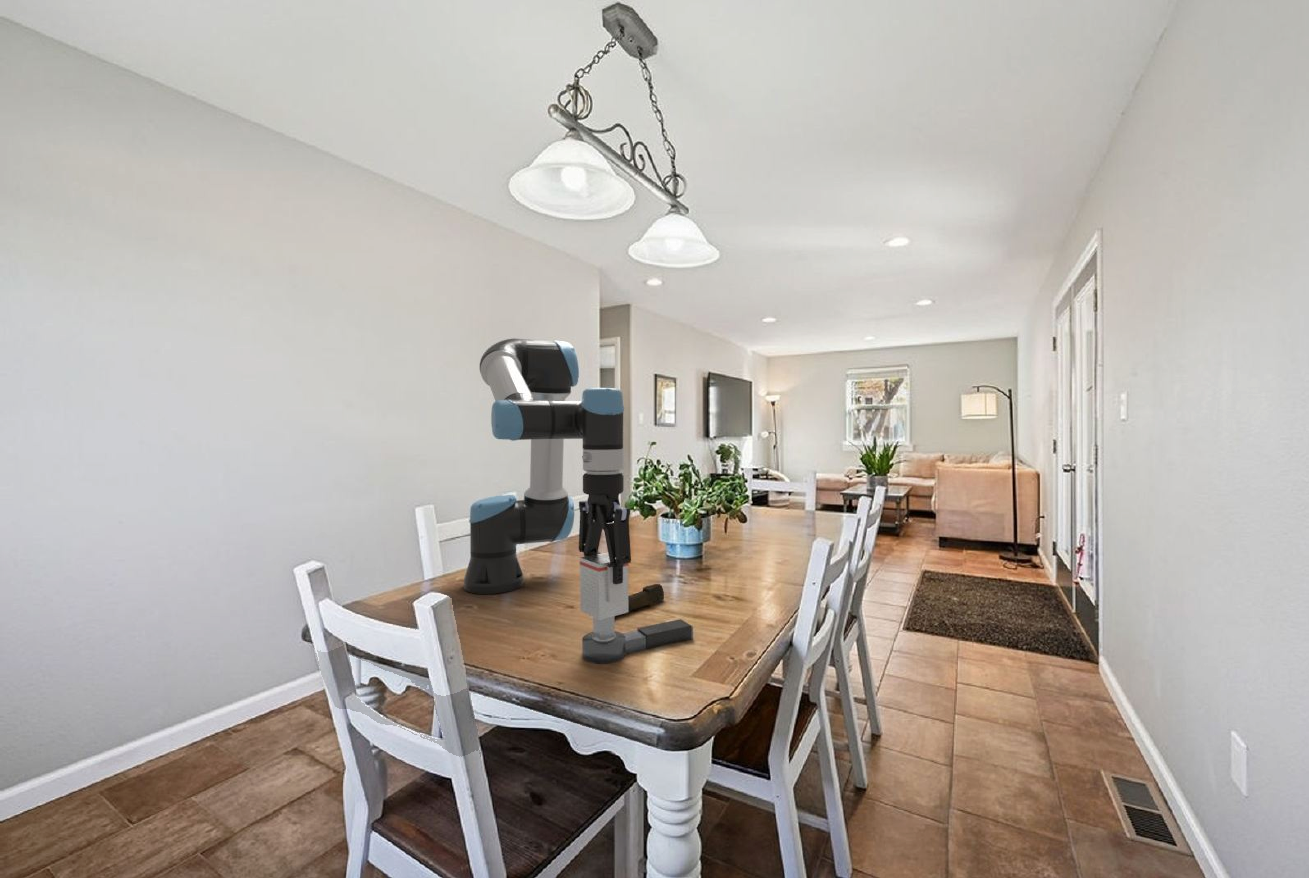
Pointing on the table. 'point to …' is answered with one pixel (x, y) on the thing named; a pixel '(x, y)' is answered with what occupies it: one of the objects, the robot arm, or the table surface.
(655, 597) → the hand tool
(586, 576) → the red-striped grey block
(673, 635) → the ratchet
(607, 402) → the robot arm
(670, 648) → the table surface
